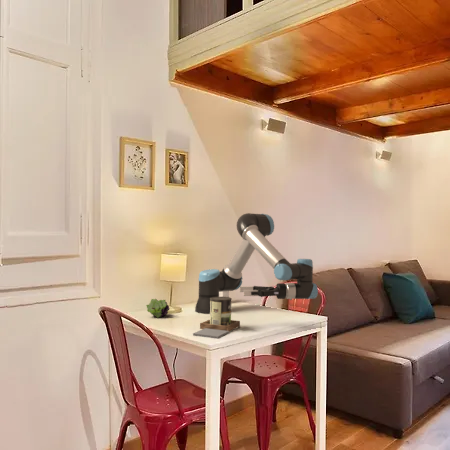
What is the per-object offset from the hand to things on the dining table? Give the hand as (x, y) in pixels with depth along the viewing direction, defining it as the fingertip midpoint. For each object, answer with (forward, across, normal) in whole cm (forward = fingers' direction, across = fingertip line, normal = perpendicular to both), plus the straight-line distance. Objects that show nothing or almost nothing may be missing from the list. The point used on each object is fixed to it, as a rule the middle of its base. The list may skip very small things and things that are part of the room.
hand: (241, 291), depth 216 cm
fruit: (+40, +26, -17) cm, 51 cm away
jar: (+2, +70, -17) cm, 72 cm away
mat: (+15, -12, -18) cm, 26 cm away
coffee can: (+10, +1, -18) cm, 20 cm away
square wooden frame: (+10, +1, -17) cm, 20 cm away
